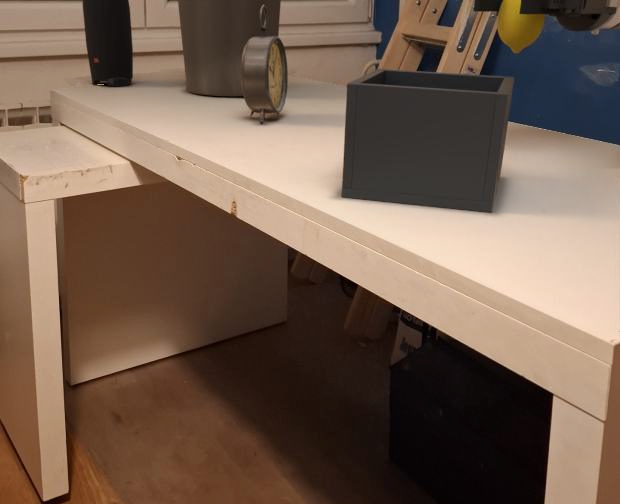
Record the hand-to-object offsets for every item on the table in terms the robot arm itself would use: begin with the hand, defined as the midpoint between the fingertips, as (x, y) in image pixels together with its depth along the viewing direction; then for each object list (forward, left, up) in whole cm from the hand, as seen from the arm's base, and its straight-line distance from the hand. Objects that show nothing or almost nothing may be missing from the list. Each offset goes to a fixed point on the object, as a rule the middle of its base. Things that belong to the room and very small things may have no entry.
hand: (500, 0), depth 87 cm
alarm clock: (+35, -16, -19) cm, 42 cm away
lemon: (-2, -5, -6) cm, 8 cm away
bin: (+5, +17, -18) cm, 26 cm away
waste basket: (+51, -43, -19) cm, 69 cm away
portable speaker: (+75, -41, -19) cm, 87 cm away
